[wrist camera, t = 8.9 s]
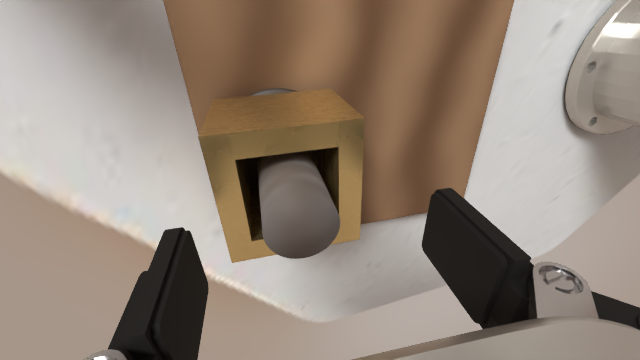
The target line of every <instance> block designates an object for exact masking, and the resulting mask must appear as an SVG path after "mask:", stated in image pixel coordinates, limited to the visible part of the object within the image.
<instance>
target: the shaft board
mask: <svg viewBox="0 0 640 360" xmlns="http://www.w3.org/2000/svg"><path fill="white" fill-rule="evenodd" d="M163 2H164V5H165V9H166V13H167V17H168V20H169V24H170V28H171V32H172V35H173V39H174V43H175V47H176V51H177V54H178V58H179V62H180V66H181V69H182V73H183V77H184V81H185V85H186V88H187V92H188V96H189V100H190V103H191V107H192V111H193V115H194V119H195V122H196V126H197V130H198V134H200V131H201V129H202V126H203V124H204V121H205V118H206V116H207V113H208V110H209V108H210V105H211V103H212V100H213V99H222V98H233V97H244V96H255V95H266V94H277V93H288V92H299V91H310V90H321V89H332V90H333V91H334V92H335V93H336V94H338V95H339V96H340V97H341V98H342V99H343V100H344V101H346V102H347V103H348V104H349V105H350V106H351V107H352V108H354V109H355V110H356V111H357V112H358V113H359V114H361V115H362V116H363V117H364V118H365V128H364V151H363V175H362V199H361V222H360V224H364V223H370V222H375V221H381V220H387V219H392V218H398V217H404V216H409V215H415V214H421V213H426V212H428V209H429V203H430V198H431V195H432V194H434V192H435V191H436V190H437V189H444V188H452V189H454V190H455V191H456V192H457V193H458V194H459V195H460V196H462V197H463V198H464V194H465V190H466V187H467V183H468V179H469V175H470V171H471V167H472V163H473V159H474V155H475V151H476V148H477V144H478V140H479V136H480V132H481V128H482V124H483V120H484V116H485V112H486V108H487V105H488V101H489V97H490V93H491V89H492V85H493V81H494V77H495V73H496V69H497V66H498V62H499V58H500V54H501V50H502V46H503V42H504V38H505V34H506V30H507V26H508V23H509V19H510V15H511V11H512V7H513V3H514V0H163ZM246 164H247V169H248V174H249V180H250V183H253V182H259V195H260V207H261V220H262V233H263V239H264V241H265V243H266V245H267V246H268V248H269V249H270V250H272V251H273V252H274V253H276V254H278V255H280V256H283V257H286V258H295V259H296V258H305V257H310V256H313V255H315V254H317V253H319V252H321V251H323V250H324V249H326V248H327V247H328V246H329V245H330V244H331V243H332V242H333V241H334V239H335V238H336V236H337V234H338V232H339V228H340V217H339V214H338V212H337V209H336V207H335V205H334V203H333V201H332V199H331V197H330V194H329V192H328V190H327V188H326V186H325V184H324V182H323V179H322V177H321V175H320V173H319V171H318V169H317V167H316V164H315V150H309V151H301V152H293V153H286V154H278V155H270V156H262V157H254V158H246Z"/></svg>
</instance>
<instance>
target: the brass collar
mask: <svg viewBox="0 0 640 360" xmlns="http://www.w3.org/2000/svg"><path fill="white" fill-rule="evenodd" d="M364 128H365V118H364V117H363V116H362V115H361V114H359V113H358V112H357V111H356V110H355V109H354V108H352V107H351V106H350V105H349V104H348V103H347V102H346V101H344V100H343V99H342V98H341V97H340V96H339V95H338V94H336V93H335V92H334V91H333V90H332V89H321V90H310V91H299V92H288V93H277V94H266V95H255V96H244V97H233V98H222V99H213V100H212V103H211V105H210V108H209V110H208V113H207V116H206V118H205V121H204V124H203V126H202V129H201V131H200V134H199V141H200V145H201V148H202V152H203V156H204V160H205V163H206V167H207V171H208V175H209V179H210V182H211V186H212V190H213V194H214V197H215V201H216V205H217V209H218V212H219V216H220V220H221V224H222V227H223V231H224V235H225V239H226V242H227V246H228V250H229V254H230V257H231V261H232V263H234V262H239V261H245V260H250V259H255V258H261V257H266V256H272V255H277V254H276V253H274V252H273V251H272V250H270V249H269V248H268V246H267V245H266V243H265V241H264V239H263V233H262V220H261V207H260V195H259V182H253V183H250V180H249V174H248V169H247V164H246V158H254V157H262V156H270V155H278V154H286V153H293V152H301V151H309V150H315V164H316V167H317V169H318V171H319V173H320V175H321V177H322V179H323V182H324V184H325V186H326V188H327V190H328V192H329V194H330V197H331V199H332V201H333V203H334V205H335V207H336V209H337V212H338V214H339V217H340V228H339V232H338V234H337V236H336V238H335V239H334V241H333V242H332V243H331V244H336V243H341V242H347V241H352V240H358V239H360V222H361V199H362V175H363V151H364ZM331 244H330V245H331Z"/></svg>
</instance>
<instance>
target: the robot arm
mask: <svg viewBox="0 0 640 360" xmlns="http://www.w3.org/2000/svg"><path fill="white" fill-rule="evenodd" d="M565 101H566V110H567V113H568V115H569V118H570V119H571V121H572V122H573V123H574V125H576V126H577V127H579V128H581V129H583V130H586V131H589V132H592V133H594V134H610V133H615V132H618V131H621V130H624V129H627V128H629V127H631V126H633V125H635V126H638V127H640V0H617V1H616V2H615V3H614V4H613V5H612V6H611V7H610V8H609V9H608V10H607V11H606V12H605V13H604V15H603V16H602V17H601V18H600V19H599V20H598V22H597V23H596V24H595V26H594V27H593V29H592V30H591V31H590V33H589V34H588V36H587V37H586V39H585V40H584V42H583V44H582V46H581V48H580V49H579V51H578V53H577V55H576V57H575V60H574V62H573V65H572V67H571V69H570V73H569V77H568V81H567V84H566V94H565ZM422 248H423V251H424V253H425V254H426V255H427V257H428V258H429V260H430V261H431V262H432V264H433V265H434V267H435V268H436V269H437V271H438V272H439V274H440V275H441V276H442V278H443V279H444V281H445V282H446V283H447V285H448V286H449V287H450V289H451V290H452V292H453V293H454V295H455V296H456V297H457V299H458V300H459V302H460V303H461V304H462V306H463V307H464V309H465V310H466V311H467V313H468V314H469V315H470V317H471V318H472V320H473V321H474V322H475V323H479V324H480V326H481V327H482V328H483V329H482V330H478V331H474V332H469V333H465V334H460V335H456V336H452V337H447V338H443V339H438V340H434V341H430V342H425V343H421V344H417V345H413V346H409V347H404V348H400V349H395V350H391V351H387V352H382V353H378V354H374V355H370V356H366V357H361V358H357V359H352V360H640V308H639V307H636V306H633V305H630V304H627V303H624V302H621V301H619V300H615V299H613V298H610V297H607V296H604V295H601V294H598V293H595V292H592V291H591V290H590V287H589V285H588V283H587V281H586V280H585V279H584V278H583V277H582V276H581V275H579V274H578V273H577V272H575V271H574V270H572V269H570V268H568V267H566V266H563V265H561V264H558V263H553V262H540V263H537V264H536V265H535V266H534V265H533V264H532V263H531V262H530V260H531V257H530V256H529V255H527V254H526V253H525V252H524V251H523V250H522V249H521V248H519V247H518V246H517V245H516V244H515V243H514V242H513V241H512V240H510V239H509V238H508V237H507V236H506V235H505V234H504V233H502V232H501V231H500V230H499V229H498V228H497V227H496V226H495V225H493V224H492V223H491V222H490V221H489V220H488V219H487V218H485V217H484V216H483V215H482V214H481V213H480V212H479V211H477V210H476V209H475V208H474V207H473V206H472V205H471V204H470V203H468V202H467V201H466V200H465V199H464V198H463V197H462V196H460V195H459V194H458V193H457V192H456V191H455V190H454V189H452V188H444V189H437V190H436V191H435V192H434V194H432V195H431V198H430V203H429V209H428V214H427V219H426V224H425V230H424V235H423V240H422ZM207 295H208V282H207V278H206V275H205V273H204V270H203V267H202V264H201V261H200V258H199V255H198V252H197V249H196V246H195V243H194V240H193V238H192V235H191V232H190V231H185V229H184V228H182V227H181V228H175V229H168V230H165V231H164V233H163V235H162V238H161V240H160V242H159V245H158V247H157V250H156V252H155V255H154V257H153V260H152V262H151V265H150V267H149V269H148V271H144V272H142V273H141V274H140V276H139V278H138V280H137V283H136V285H135V287H134V290H133V292H132V294H131V297H130V299H129V301H128V303H127V306H126V308H125V310H124V313H123V315H122V317H121V320H120V322H119V324H118V327H117V329H116V331H115V334H114V336H113V338H112V341H111V343H110V345H109V348H108V350H102V351H100V352H97V353H94V354H92V355H90V356H89V357H87V358H85V359H84V360H197V358H198V352H199V345H200V340H201V333H202V327H203V321H204V315H205V309H206V302H207Z"/></svg>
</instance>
